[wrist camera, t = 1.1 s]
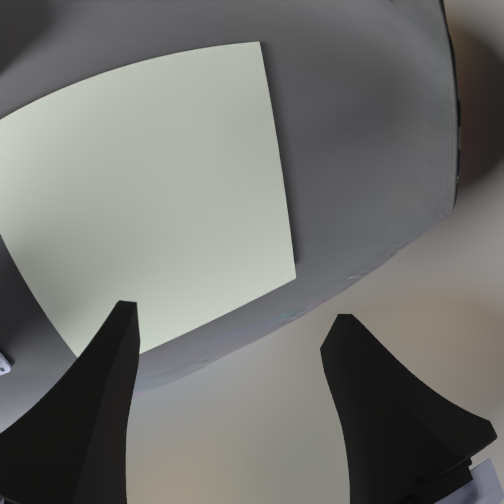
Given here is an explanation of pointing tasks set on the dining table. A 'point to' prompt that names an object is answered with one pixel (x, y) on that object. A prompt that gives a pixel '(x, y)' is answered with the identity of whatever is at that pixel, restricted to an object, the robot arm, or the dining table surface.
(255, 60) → the board
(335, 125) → the dining table surface
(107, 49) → the dining table surface
